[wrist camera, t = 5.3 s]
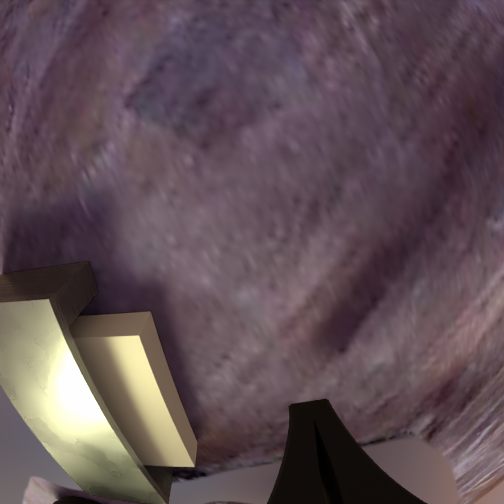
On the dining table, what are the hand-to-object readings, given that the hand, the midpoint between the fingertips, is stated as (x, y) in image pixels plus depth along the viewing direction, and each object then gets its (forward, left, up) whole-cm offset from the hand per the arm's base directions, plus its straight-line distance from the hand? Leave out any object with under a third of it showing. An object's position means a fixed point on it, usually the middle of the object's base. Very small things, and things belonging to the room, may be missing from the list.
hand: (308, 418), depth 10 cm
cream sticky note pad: (+8, 0, -2) cm, 9 cm away
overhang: (+10, 0, -2) cm, 10 cm away
